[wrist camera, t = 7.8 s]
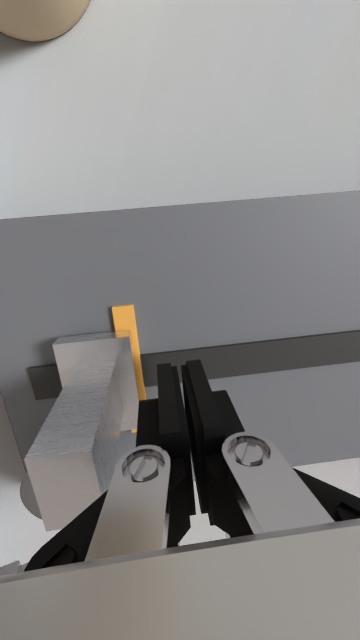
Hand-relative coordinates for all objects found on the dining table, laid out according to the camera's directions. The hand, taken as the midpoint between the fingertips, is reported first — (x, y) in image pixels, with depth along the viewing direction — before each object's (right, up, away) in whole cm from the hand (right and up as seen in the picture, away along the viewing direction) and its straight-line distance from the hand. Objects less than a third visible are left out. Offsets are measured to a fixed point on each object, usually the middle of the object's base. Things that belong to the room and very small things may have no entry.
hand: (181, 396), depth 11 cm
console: (+4, +2, +5) cm, 7 cm away
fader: (-3, 0, +2) cm, 4 cm away
